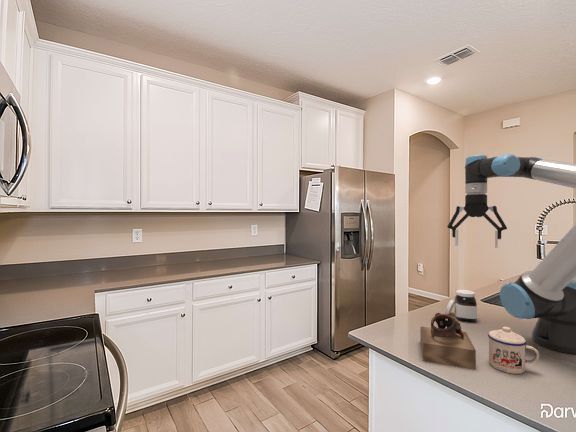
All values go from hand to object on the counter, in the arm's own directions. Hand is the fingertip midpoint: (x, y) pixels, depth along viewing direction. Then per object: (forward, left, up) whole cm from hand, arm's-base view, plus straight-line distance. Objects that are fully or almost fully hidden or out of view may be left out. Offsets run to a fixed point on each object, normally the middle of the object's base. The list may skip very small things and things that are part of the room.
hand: (475, 246), depth 120 cm
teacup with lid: (-11, +33, -32) cm, 47 cm away
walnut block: (+6, +35, -32) cm, 48 cm away
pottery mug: (+6, +34, -26) cm, 44 cm away
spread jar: (+6, -5, -32) cm, 33 cm away
